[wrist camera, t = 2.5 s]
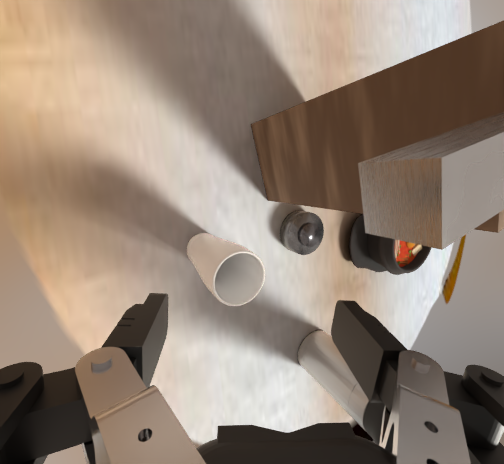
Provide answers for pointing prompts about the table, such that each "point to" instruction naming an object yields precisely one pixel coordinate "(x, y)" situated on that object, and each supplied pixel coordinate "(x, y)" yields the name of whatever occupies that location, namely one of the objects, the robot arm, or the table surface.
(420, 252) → the casserole
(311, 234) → the round knob
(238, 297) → the white tapered cylinder
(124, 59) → the table surface
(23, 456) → the robot arm
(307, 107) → the pedestal
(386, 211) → the bar
